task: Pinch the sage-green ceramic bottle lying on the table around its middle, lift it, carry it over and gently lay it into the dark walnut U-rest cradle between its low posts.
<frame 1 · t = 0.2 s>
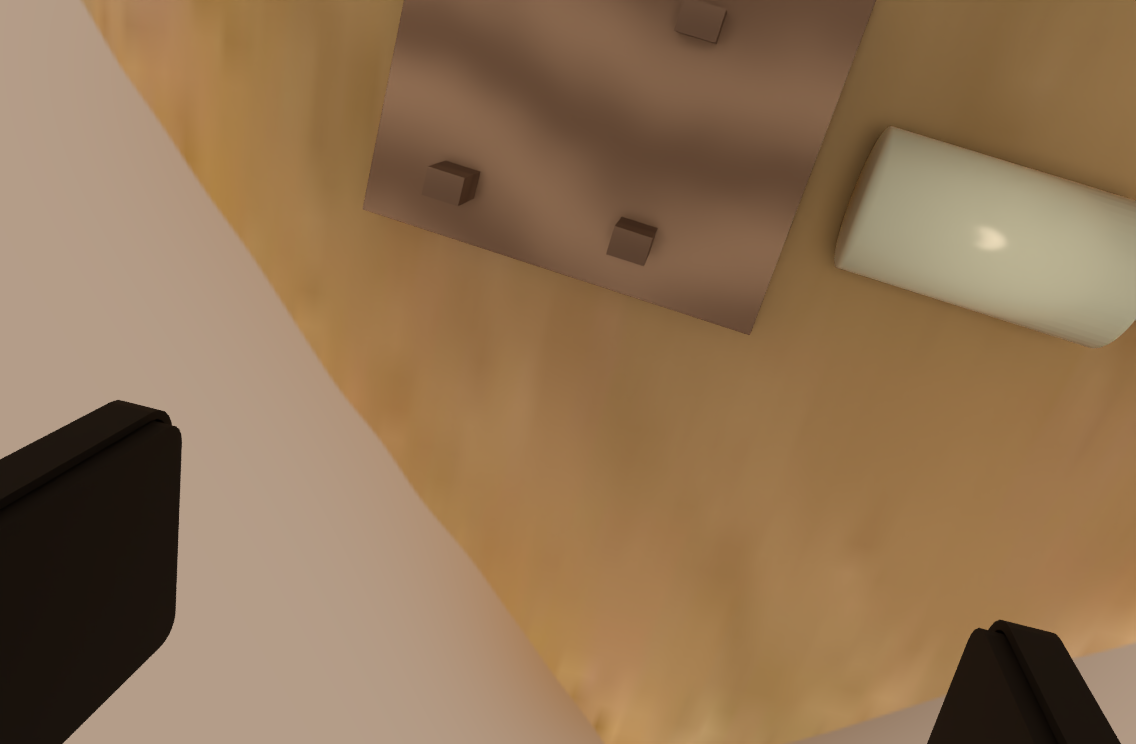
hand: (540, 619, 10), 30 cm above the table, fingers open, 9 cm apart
sage bottle: (1007, 236, 37), on the table
walnut cradle: (601, 111, 38), on the table
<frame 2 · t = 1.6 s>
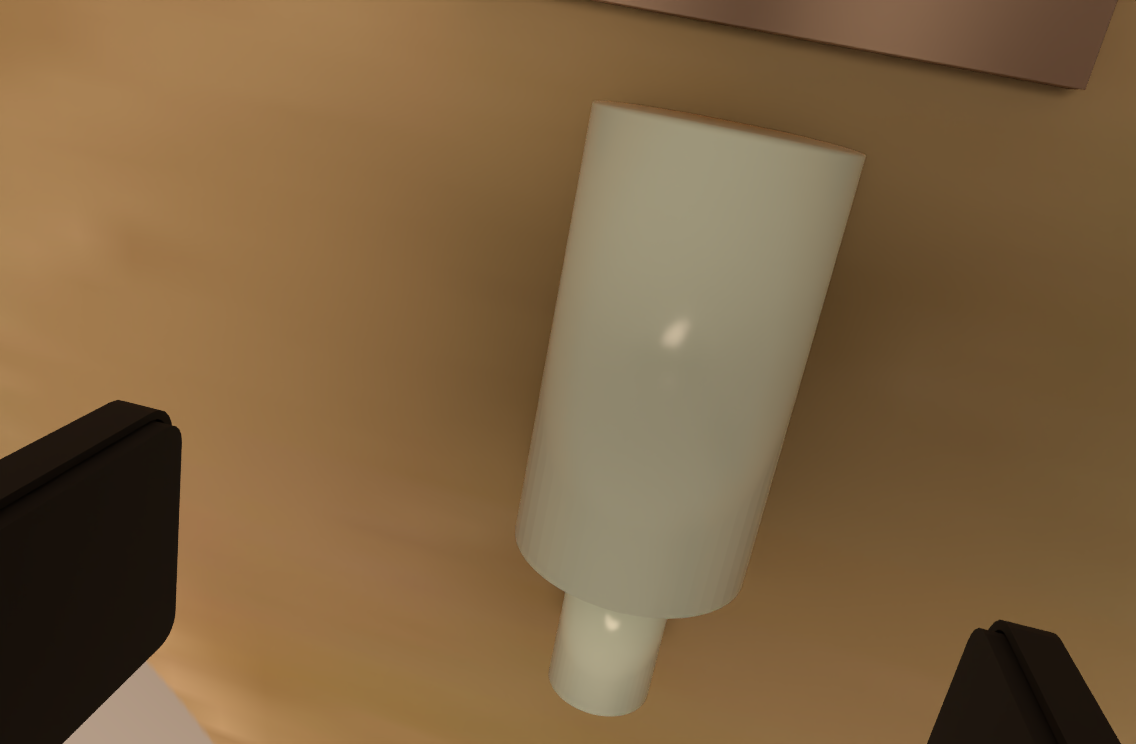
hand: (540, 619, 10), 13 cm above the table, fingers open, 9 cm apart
sage bottle: (666, 376, 23), on the table
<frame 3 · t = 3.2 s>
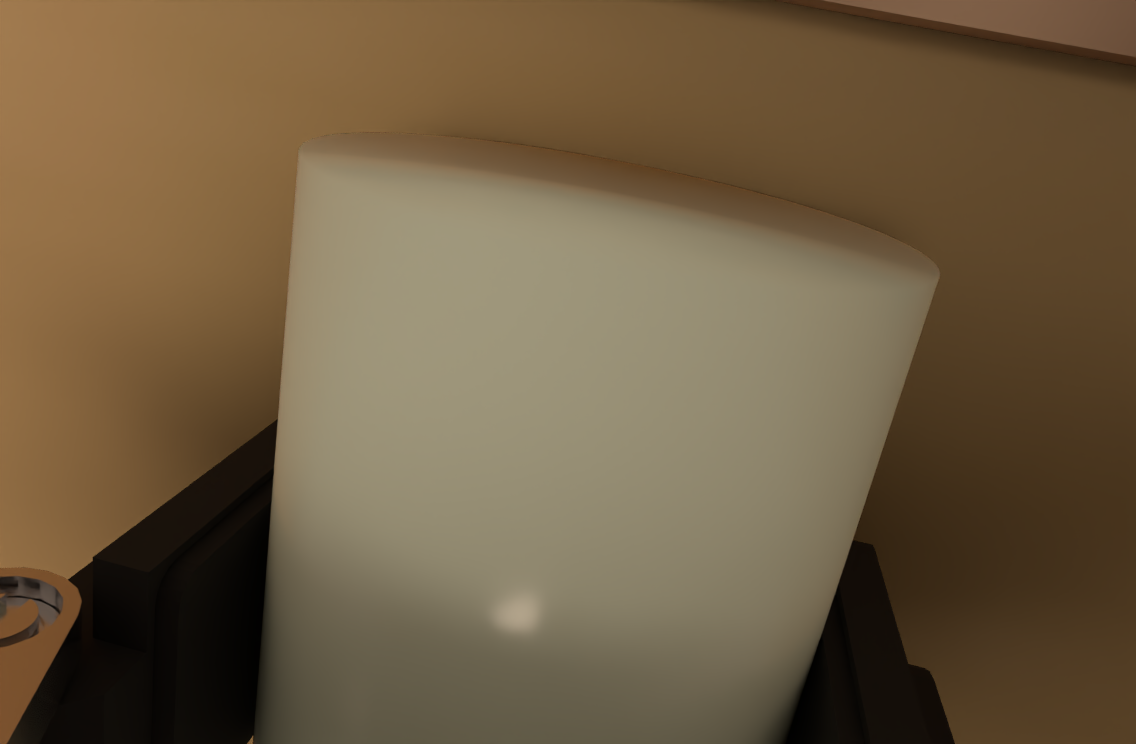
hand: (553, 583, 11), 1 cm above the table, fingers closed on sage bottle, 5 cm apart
sage bottle: (548, 617, 13), on the table, touching gripper
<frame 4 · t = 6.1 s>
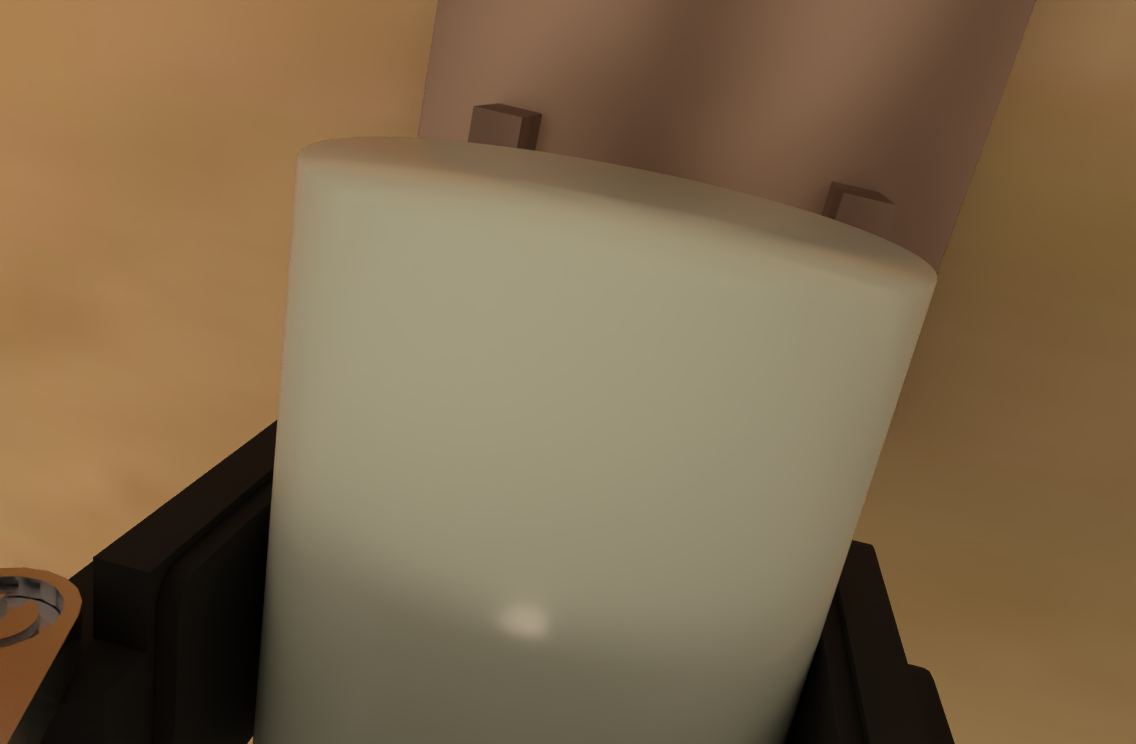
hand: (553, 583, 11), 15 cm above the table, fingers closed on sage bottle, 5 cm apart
sage bottle: (548, 620, 13), point 14 cm above the table, touching gripper
walnut cradle: (708, 58, 23), on the table
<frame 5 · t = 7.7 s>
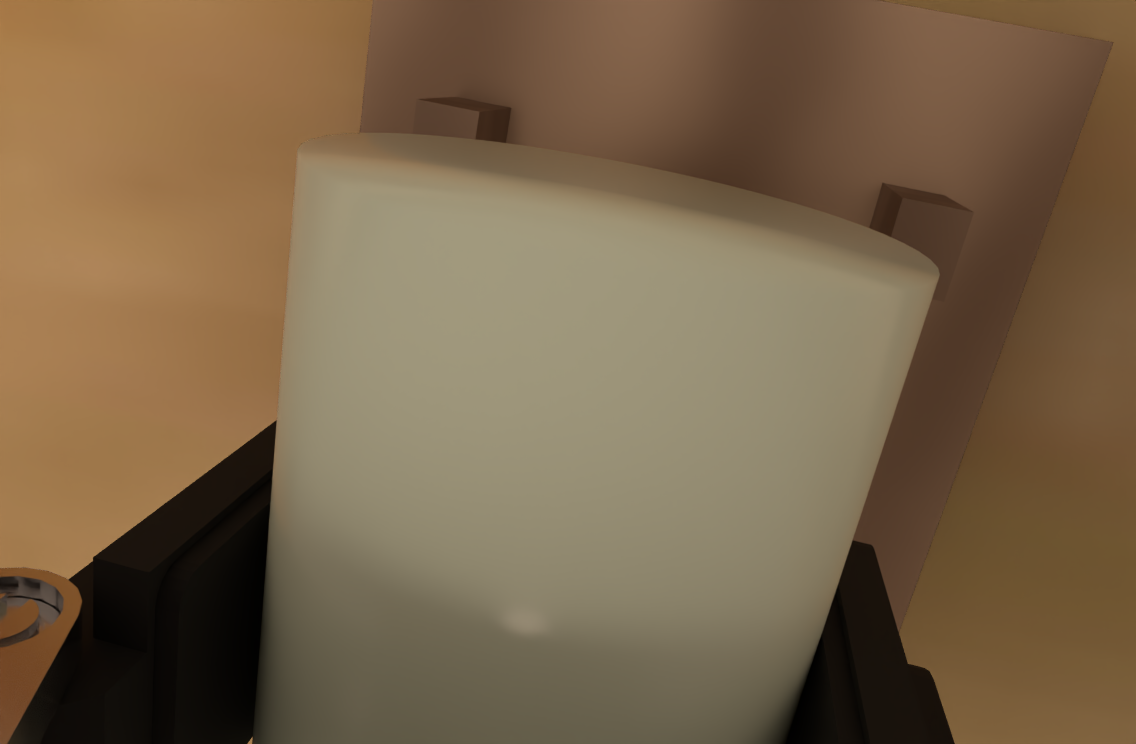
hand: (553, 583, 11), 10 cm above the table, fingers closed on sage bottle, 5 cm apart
sage bottle: (548, 618, 13), point 9 cm above the table, touching gripper
walnut cradle: (639, 392, 21), on the table
when the fingers open (4 cm above the table, at t = 9.2 s): sage bottle drops 2 cm, resting on walnut cradle.
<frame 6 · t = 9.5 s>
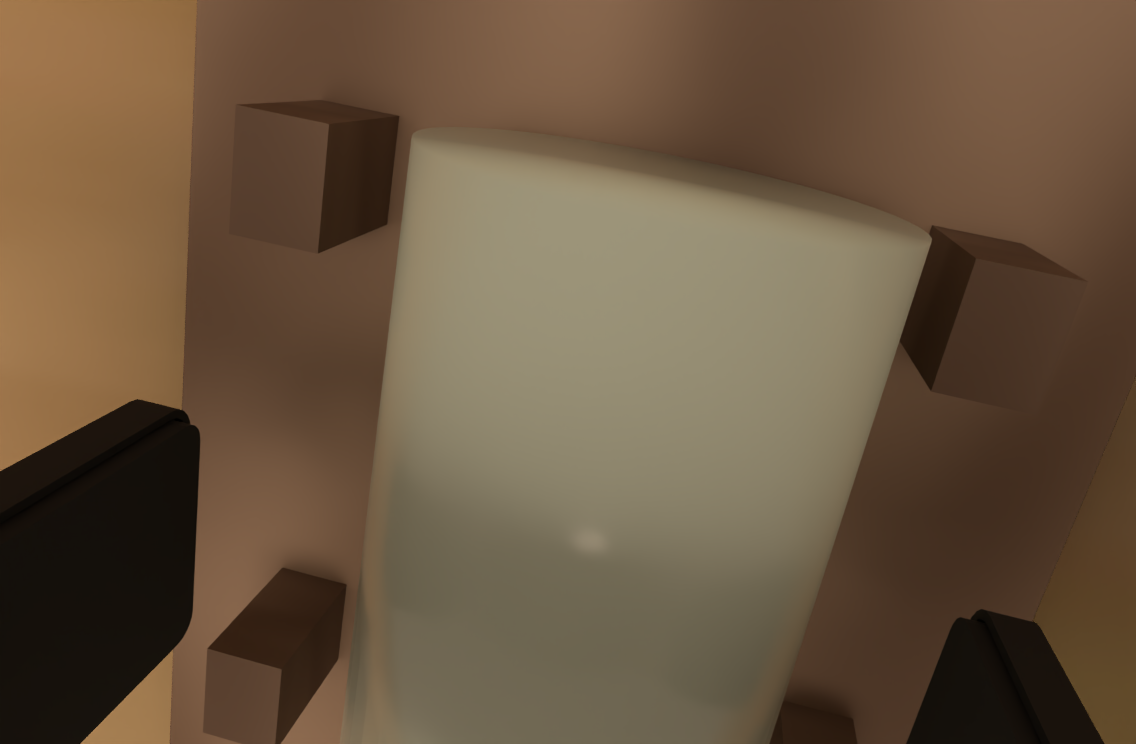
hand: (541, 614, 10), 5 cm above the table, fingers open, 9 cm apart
sage bottle: (577, 554, 15), point 1 cm above the table, tilted 6°, touching walnut cradle
walnut cradle: (590, 500, 15), on the table
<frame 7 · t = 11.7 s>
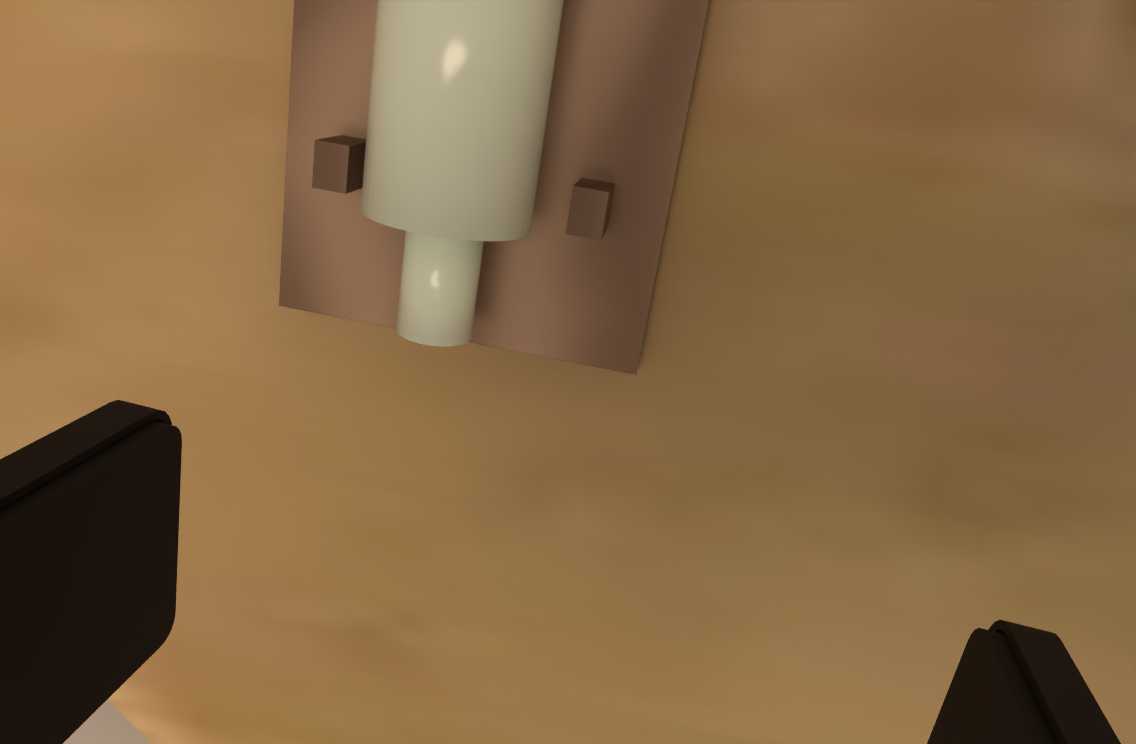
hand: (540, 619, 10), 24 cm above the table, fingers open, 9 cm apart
sage bottle: (483, 109, 31), point 1 cm above the table, touching walnut cradle
walnut cradle: (490, 94, 32), on the table
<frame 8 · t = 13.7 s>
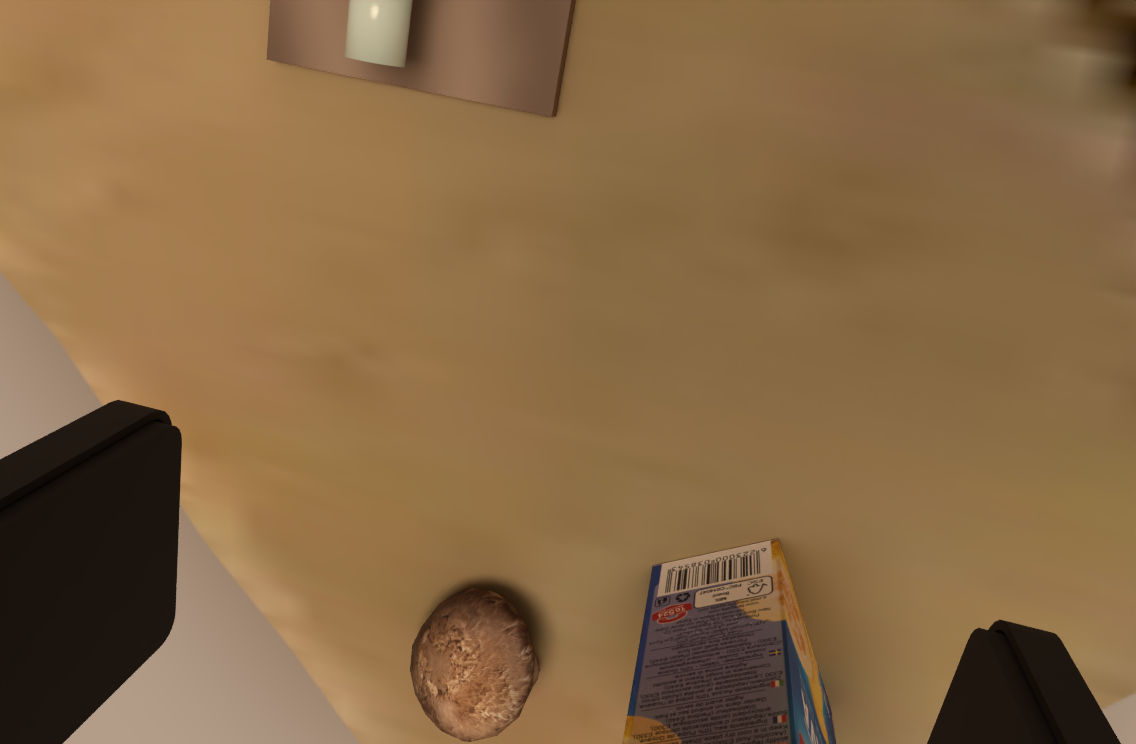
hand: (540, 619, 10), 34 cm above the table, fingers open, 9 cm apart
beverage box: (742, 635, 49), on the table
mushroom: (487, 630, 52), on the table
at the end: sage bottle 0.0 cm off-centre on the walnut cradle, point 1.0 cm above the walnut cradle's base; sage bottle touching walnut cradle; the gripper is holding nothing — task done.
